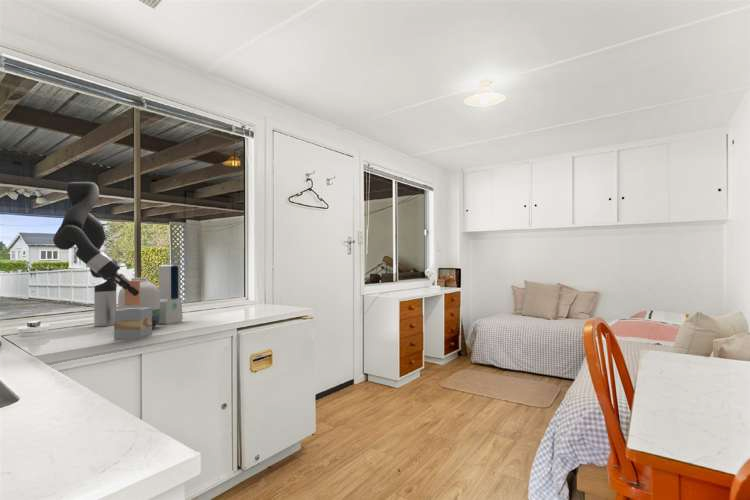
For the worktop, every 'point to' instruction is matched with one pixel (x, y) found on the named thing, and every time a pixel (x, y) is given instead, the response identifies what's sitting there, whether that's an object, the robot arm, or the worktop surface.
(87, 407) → the worktop surface
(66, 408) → the worktop surface
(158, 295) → the vase
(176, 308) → the electronic device
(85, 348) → the worktop surface
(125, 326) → the tower slab middle
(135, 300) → the pillar
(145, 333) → the tower slab bottom
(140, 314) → the tower slab top
